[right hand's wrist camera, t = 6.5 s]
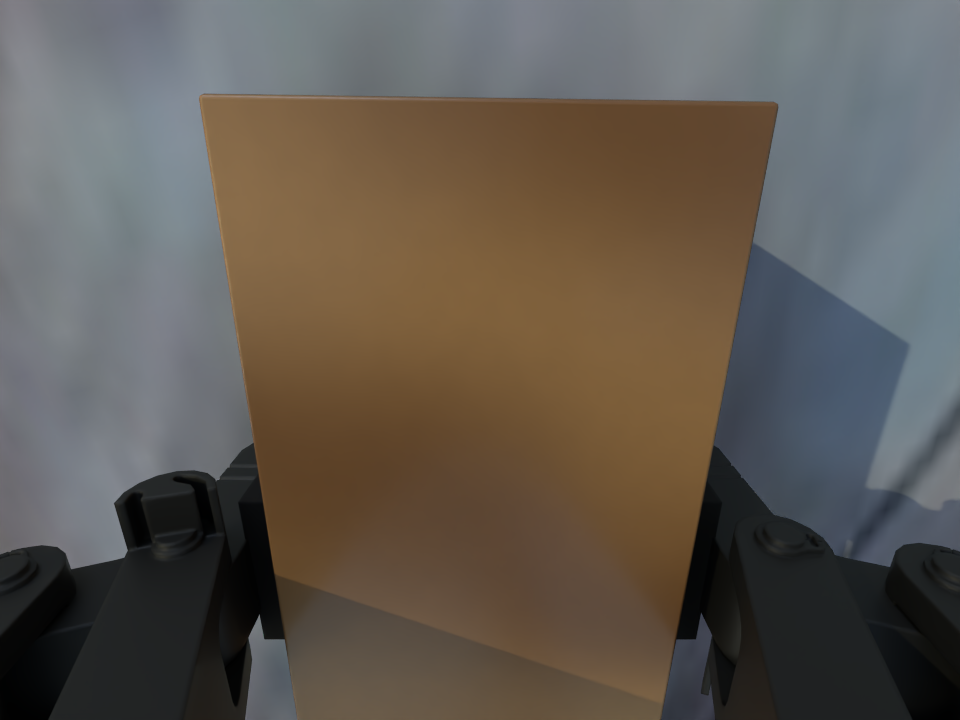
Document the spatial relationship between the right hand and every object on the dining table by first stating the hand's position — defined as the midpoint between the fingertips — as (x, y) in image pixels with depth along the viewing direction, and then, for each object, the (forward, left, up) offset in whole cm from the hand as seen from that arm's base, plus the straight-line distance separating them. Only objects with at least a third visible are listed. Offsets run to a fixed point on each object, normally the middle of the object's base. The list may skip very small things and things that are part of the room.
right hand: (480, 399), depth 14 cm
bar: (+2, +20, -1) cm, 20 cm away
